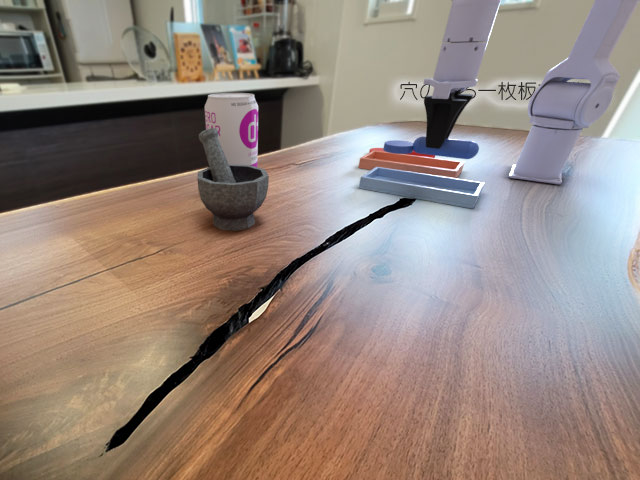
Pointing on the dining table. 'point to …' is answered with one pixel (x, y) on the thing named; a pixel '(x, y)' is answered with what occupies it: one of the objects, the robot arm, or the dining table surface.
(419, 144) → the blue spoon
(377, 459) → the dining table surface
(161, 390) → the dining table surface
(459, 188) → the blue tray
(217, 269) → the dining table surface
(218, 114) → the white soda can
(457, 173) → the red tray
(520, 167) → the robot arm
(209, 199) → the mortar and pestle
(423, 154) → the red spoon
